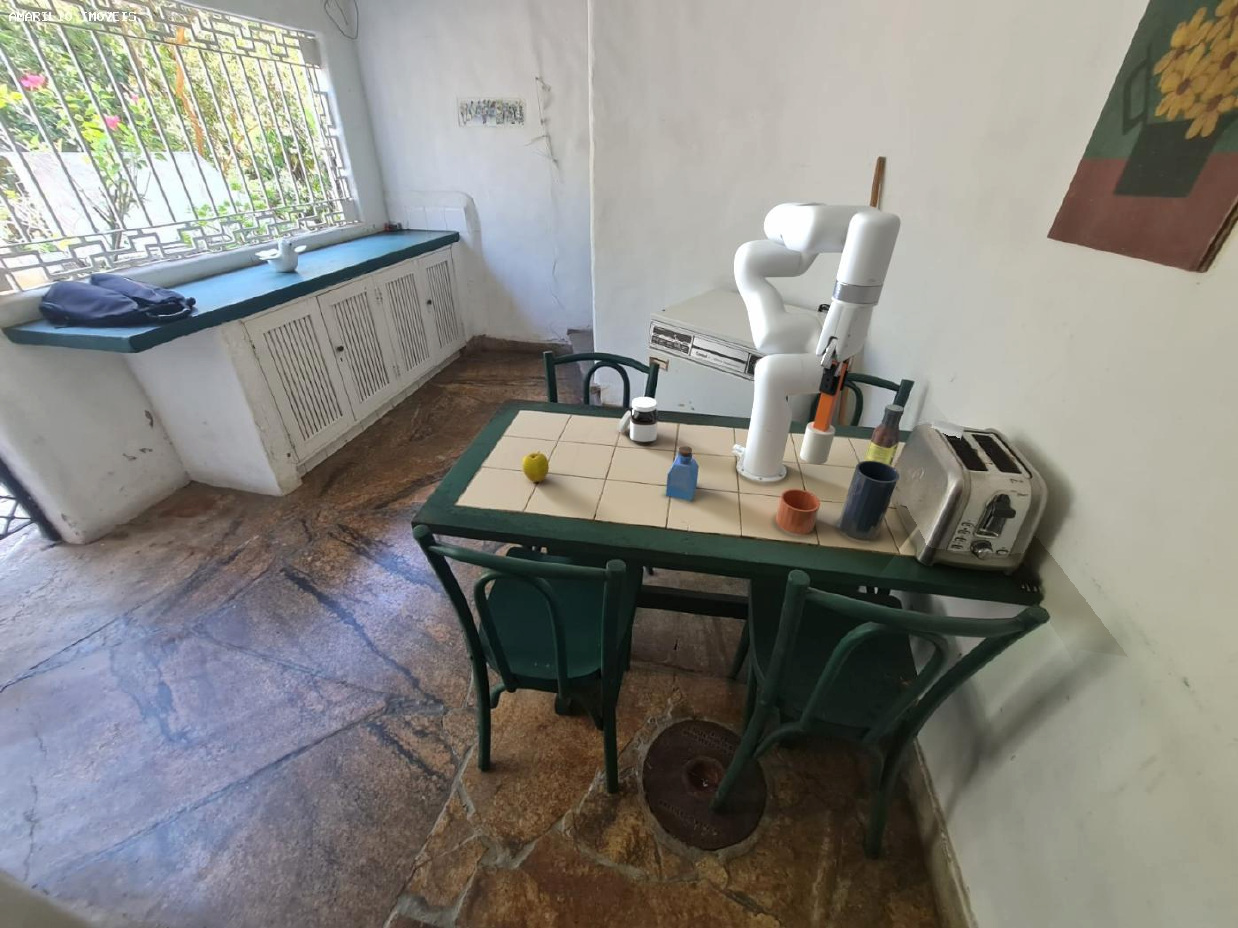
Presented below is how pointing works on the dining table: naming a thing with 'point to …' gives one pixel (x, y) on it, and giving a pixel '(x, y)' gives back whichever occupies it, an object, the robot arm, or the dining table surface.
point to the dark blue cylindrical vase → (868, 500)
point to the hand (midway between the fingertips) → (831, 390)
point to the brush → (821, 428)
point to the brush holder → (797, 511)
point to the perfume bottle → (682, 475)
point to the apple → (535, 466)
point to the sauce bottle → (886, 436)
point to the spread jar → (641, 420)
